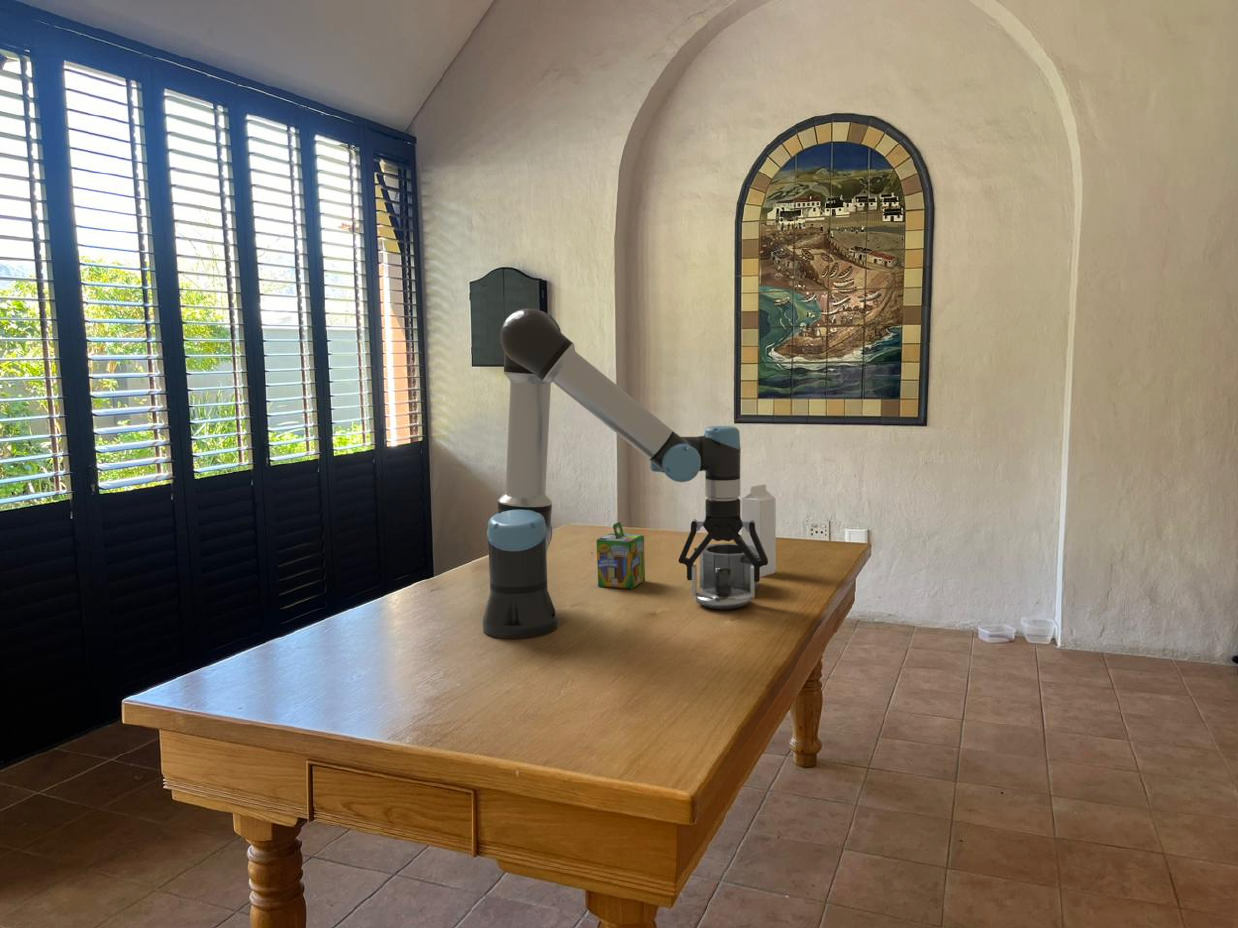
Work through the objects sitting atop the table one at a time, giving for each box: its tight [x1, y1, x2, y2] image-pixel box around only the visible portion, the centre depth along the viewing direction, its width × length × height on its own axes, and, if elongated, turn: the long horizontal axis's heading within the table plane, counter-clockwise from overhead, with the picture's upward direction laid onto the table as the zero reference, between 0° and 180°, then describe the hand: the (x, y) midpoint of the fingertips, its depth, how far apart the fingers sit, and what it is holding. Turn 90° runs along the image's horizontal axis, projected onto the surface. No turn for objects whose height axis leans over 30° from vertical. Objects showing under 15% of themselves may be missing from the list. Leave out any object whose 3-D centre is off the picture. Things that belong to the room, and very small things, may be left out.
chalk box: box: [596, 521, 646, 590], centre depth 225 cm, size 9×9×15 cm
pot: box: [693, 542, 760, 593], centre depth 220 cm, size 13×18×9 cm
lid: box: [695, 566, 752, 611], centre depth 205 cm, size 12×12×8 cm
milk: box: [741, 483, 777, 578], centre depth 232 cm, size 6×6×22 cm
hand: (723, 595), depth 205 cm, fingers closed on lid, 12 cm apart
